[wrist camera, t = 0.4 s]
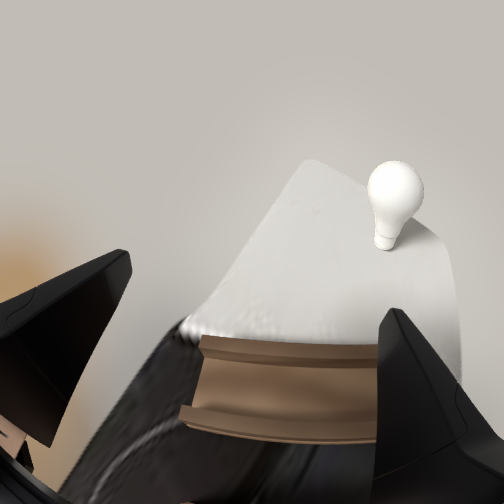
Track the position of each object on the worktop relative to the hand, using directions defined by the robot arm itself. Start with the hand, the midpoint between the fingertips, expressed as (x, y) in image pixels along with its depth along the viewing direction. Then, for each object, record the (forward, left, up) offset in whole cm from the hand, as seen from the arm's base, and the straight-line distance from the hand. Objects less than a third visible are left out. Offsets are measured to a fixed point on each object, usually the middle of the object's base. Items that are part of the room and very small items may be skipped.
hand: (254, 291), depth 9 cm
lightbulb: (+19, -11, -16) cm, 27 cm away
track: (+1, -1, -15) cm, 15 cm away
